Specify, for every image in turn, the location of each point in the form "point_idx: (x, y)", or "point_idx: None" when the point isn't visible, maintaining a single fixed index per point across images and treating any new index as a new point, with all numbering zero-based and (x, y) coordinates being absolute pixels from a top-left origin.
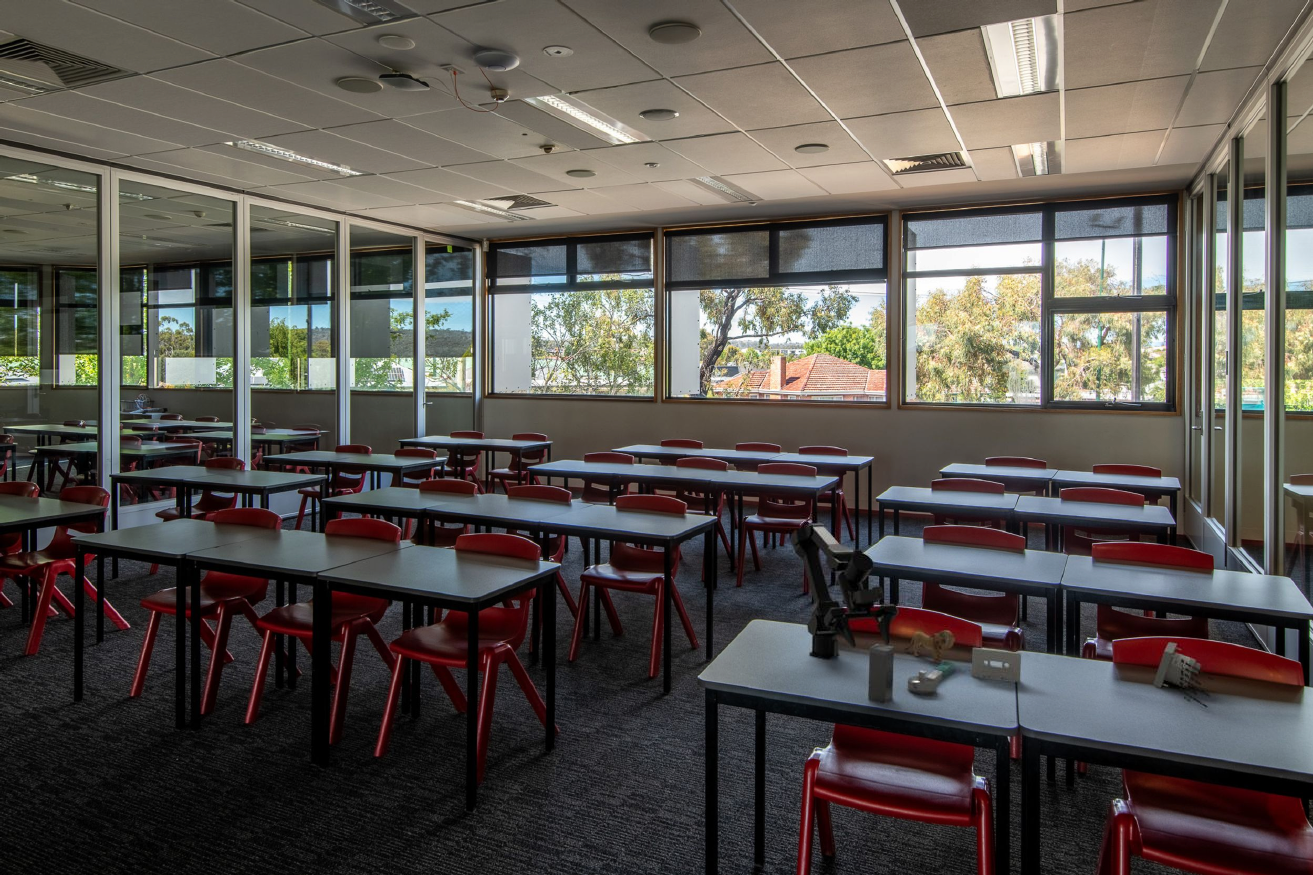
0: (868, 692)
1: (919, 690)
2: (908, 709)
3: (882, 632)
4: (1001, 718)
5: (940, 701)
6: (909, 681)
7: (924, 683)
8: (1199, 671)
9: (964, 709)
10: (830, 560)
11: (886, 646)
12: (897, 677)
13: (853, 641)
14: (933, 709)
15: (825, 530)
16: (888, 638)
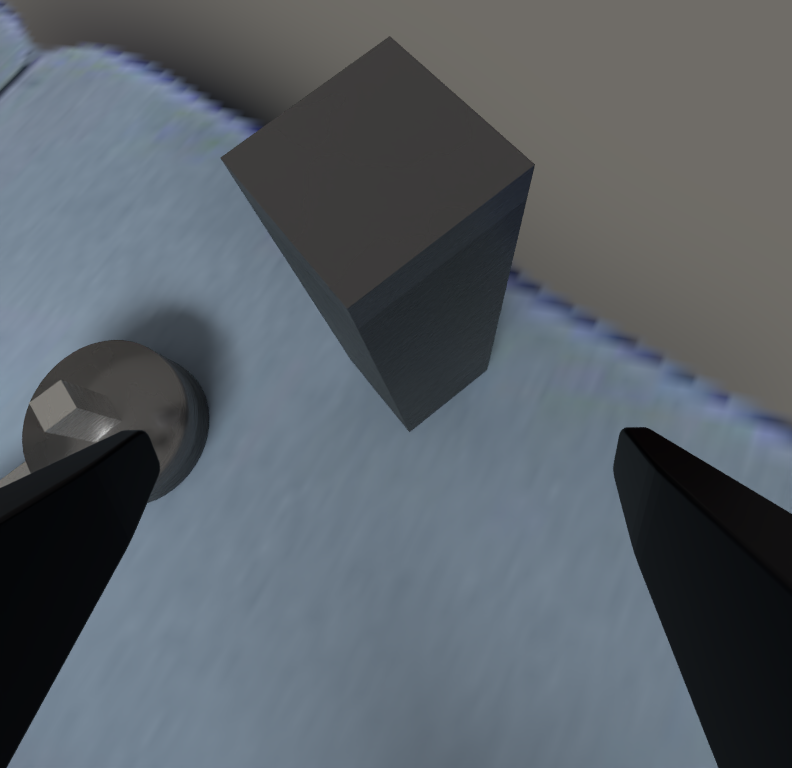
0: (489, 356)
1: (177, 365)
2: None
3: (13, 657)
4: (46, 105)
5: (147, 285)
6: (175, 425)
7: (115, 379)
8: None
9: (113, 194)
10: None
11: (295, 183)
12: (134, 663)
13: (673, 450)
14: (238, 210)
15: None
16: (79, 454)
